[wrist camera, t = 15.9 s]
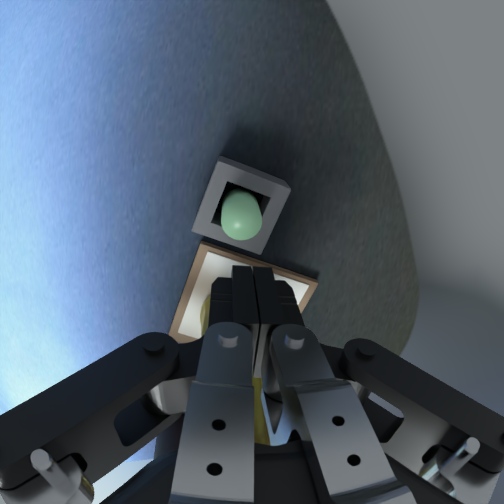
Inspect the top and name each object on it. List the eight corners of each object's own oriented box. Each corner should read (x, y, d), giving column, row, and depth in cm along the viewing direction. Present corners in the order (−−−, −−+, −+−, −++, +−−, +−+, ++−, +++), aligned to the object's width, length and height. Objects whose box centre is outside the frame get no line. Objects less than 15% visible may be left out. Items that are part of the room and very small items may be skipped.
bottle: (223, 425, 35) (228, 575, 17) (193, 444, 37) (190, 576, 19) (175, 406, 32) (162, 568, 14) (149, 427, 34) (132, 566, 16)
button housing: (219, 155, 21) (217, 160, 19) (284, 180, 22) (291, 189, 20) (195, 218, 23) (191, 231, 21) (257, 240, 24) (260, 255, 22)
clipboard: (201, 240, 24) (199, 248, 23) (316, 279, 26) (321, 288, 25) (168, 334, 28) (165, 344, 26) (267, 361, 30) (269, 371, 29)
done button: (229, 182, 21) (229, 195, 18) (263, 195, 21) (268, 210, 18) (217, 214, 22) (215, 232, 19) (249, 226, 22) (252, 245, 19)
